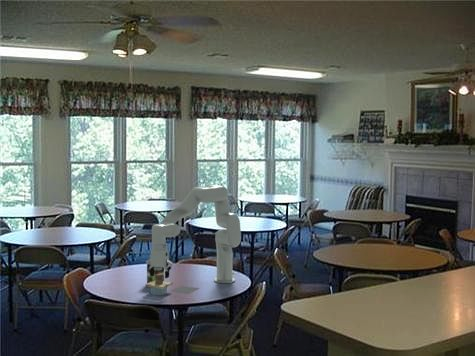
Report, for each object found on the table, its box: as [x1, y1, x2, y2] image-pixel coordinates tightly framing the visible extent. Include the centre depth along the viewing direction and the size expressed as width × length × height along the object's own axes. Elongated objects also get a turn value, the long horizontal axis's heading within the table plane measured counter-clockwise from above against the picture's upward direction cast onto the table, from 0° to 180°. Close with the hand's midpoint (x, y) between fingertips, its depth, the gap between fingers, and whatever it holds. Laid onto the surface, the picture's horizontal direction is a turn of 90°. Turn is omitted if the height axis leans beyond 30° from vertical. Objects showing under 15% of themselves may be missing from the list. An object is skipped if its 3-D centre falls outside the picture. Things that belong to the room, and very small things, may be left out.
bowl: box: [150, 287, 168, 296], centre depth 315 cm, size 9×9×4 cm
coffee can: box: [146, 262, 165, 284], centre depth 334 cm, size 10×10×14 cm
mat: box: [171, 285, 200, 295], centre depth 322 cm, size 12×12×1 cm
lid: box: [144, 274, 174, 289], centre depth 315 cm, size 11×11×6 cm
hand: (159, 276), depth 315 cm, fingers open, 9 cm apart
